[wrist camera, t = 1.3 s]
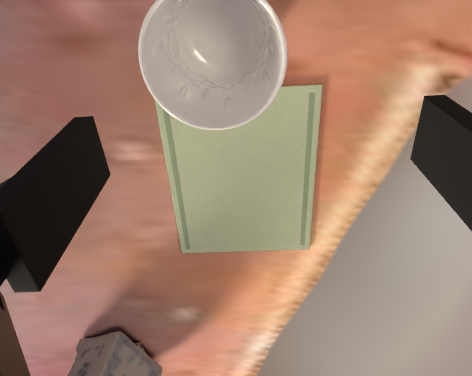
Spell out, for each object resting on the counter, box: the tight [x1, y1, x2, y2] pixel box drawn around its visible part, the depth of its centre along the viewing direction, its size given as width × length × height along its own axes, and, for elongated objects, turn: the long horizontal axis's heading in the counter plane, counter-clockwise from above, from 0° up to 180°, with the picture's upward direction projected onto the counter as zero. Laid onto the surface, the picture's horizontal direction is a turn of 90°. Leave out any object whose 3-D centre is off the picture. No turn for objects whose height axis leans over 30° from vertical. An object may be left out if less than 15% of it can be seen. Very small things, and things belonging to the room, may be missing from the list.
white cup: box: [138, 0, 287, 130], centre depth 23 cm, size 8×8×10 cm
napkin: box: [154, 84, 322, 253], centre depth 34 cm, size 18×14×1 cm
